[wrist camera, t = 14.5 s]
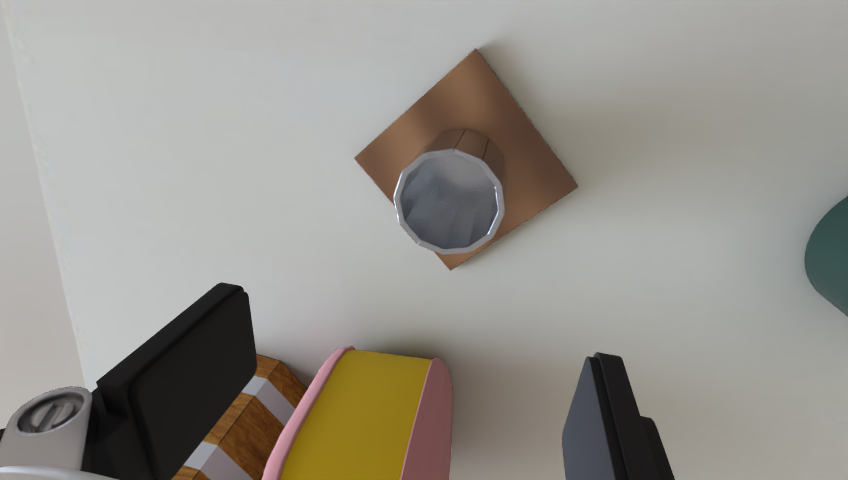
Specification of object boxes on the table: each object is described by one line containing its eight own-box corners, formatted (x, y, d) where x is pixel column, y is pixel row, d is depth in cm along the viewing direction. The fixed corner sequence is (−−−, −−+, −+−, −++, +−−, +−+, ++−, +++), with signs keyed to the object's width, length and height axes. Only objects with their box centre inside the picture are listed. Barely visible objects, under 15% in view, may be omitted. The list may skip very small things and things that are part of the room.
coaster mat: (476, 48, 28) (475, 48, 28) (577, 184, 31) (578, 187, 30) (355, 157, 33) (353, 158, 33) (451, 267, 36) (450, 270, 35)
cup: (468, 108, 30) (456, 126, 23) (524, 181, 31) (526, 215, 25) (400, 165, 32) (373, 194, 26) (454, 230, 34) (441, 272, 27)
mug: (290, 344, 43) (188, 479, 30) (331, 440, 48) (261, 593, 35) (141, 356, 48) (-2, 475, 35) (192, 442, 53) (84, 575, 40)
